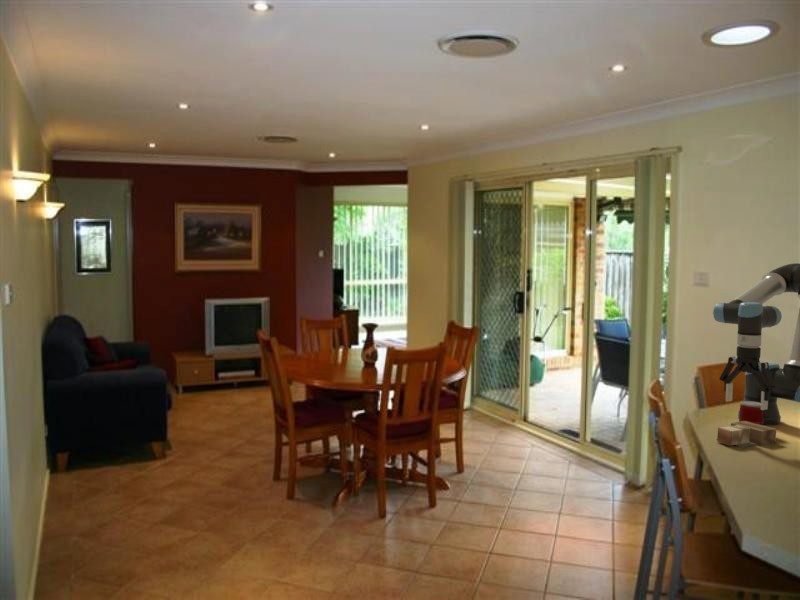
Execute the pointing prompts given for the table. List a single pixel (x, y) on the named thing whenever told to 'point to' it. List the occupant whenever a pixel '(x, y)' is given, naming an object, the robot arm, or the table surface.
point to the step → (759, 432)
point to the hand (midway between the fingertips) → (745, 405)
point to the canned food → (751, 412)
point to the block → (733, 435)
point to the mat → (746, 444)
